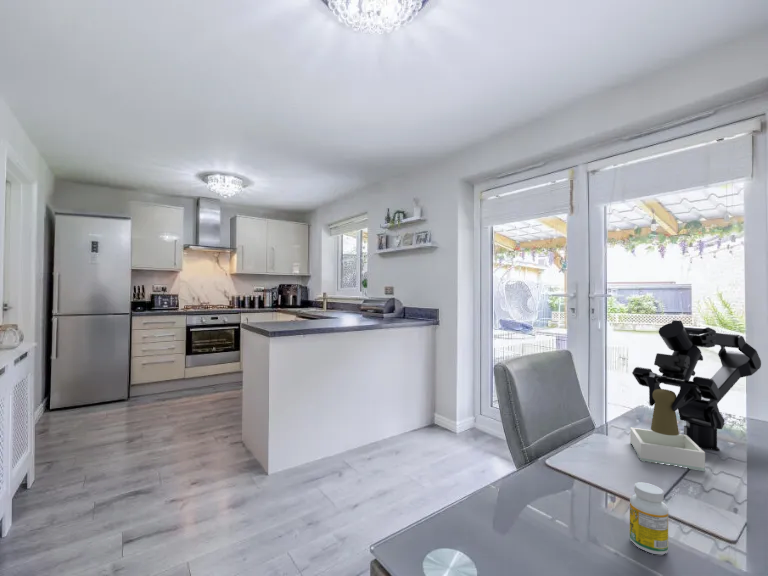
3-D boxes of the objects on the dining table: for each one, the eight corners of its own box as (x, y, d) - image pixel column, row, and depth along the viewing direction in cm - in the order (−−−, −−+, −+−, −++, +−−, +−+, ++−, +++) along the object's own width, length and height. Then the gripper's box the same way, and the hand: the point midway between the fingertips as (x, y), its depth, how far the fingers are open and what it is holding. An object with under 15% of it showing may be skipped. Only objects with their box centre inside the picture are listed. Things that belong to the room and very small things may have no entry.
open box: (686, 451, 103) (686, 434, 103) (705, 471, 91) (705, 452, 91) (630, 442, 109) (630, 427, 109) (640, 460, 97) (640, 443, 97)
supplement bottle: (667, 561, 59) (667, 500, 59) (627, 546, 63) (627, 488, 63) (669, 544, 63) (669, 487, 64) (631, 531, 67) (632, 477, 67)
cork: (669, 427, 103) (668, 387, 103) (684, 435, 97) (684, 393, 97) (645, 426, 103) (645, 386, 103) (659, 435, 97) (659, 392, 97)
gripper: (635, 339, 110) (613, 380, 105) (714, 347, 94) (692, 397, 89) (650, 363, 114) (629, 405, 109) (729, 375, 97) (708, 425, 92)
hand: (661, 407), depth 99 cm, fingers closed on cork, 5 cm apart
